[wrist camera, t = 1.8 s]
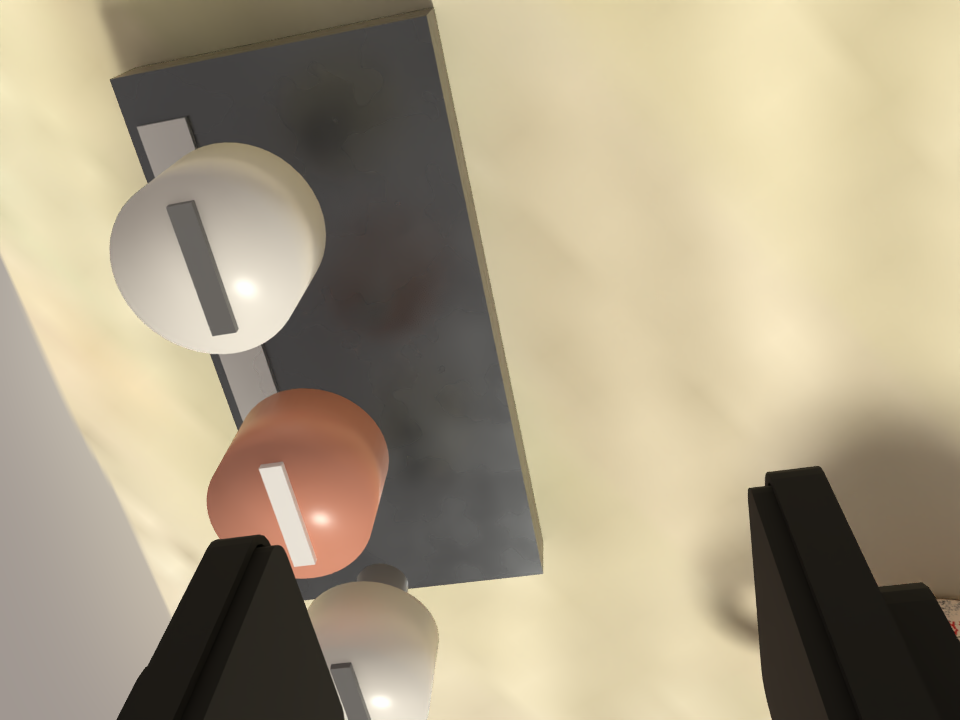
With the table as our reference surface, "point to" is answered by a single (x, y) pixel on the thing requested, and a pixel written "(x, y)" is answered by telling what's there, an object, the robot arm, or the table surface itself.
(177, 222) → the knob near
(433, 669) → the knob far
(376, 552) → the mount plate
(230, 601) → the robot arm
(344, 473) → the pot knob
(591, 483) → the table surface
